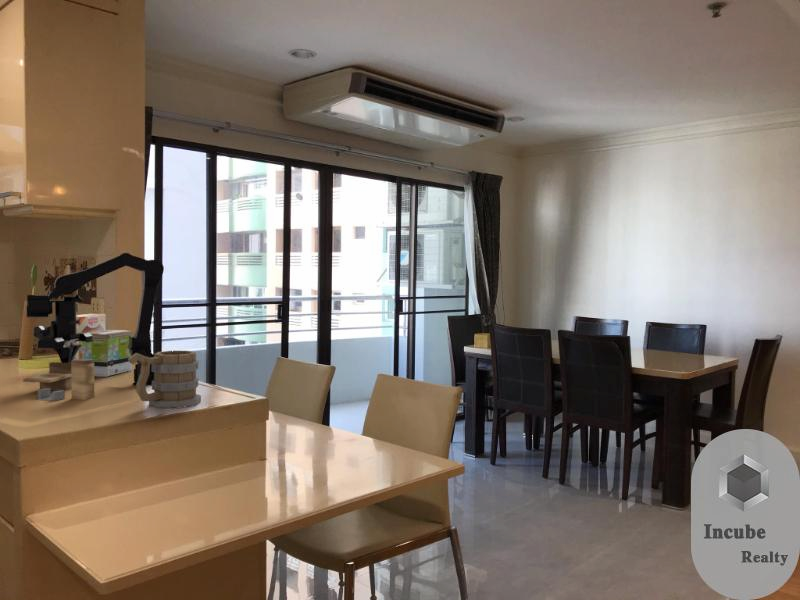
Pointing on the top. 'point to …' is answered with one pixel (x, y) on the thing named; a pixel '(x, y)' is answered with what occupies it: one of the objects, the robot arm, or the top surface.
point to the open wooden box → (58, 384)
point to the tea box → (108, 352)
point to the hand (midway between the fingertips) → (66, 368)
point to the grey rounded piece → (46, 395)
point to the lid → (53, 373)
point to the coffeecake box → (89, 327)
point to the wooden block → (82, 378)
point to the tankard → (169, 378)
